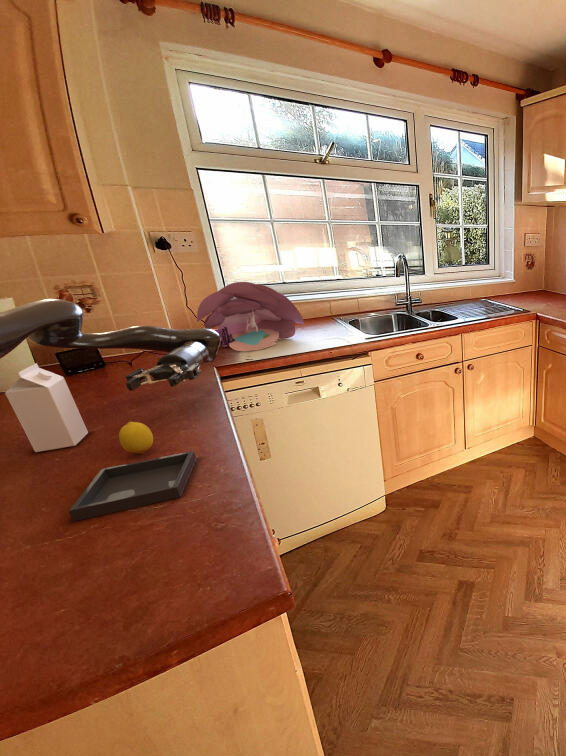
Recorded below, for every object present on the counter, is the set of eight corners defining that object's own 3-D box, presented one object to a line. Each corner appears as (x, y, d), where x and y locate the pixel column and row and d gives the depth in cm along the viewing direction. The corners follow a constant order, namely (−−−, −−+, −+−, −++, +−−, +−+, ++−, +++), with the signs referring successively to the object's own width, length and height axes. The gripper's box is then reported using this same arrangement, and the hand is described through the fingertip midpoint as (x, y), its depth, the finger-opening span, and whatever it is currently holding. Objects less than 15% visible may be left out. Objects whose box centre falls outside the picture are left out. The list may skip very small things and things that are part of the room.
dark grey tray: (73, 521, 74) (68, 510, 73) (105, 478, 86) (101, 468, 86) (180, 497, 80) (176, 487, 79) (196, 459, 92) (193, 450, 92)
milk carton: (35, 453, 96) (-5, 375, 89) (51, 439, 102) (15, 365, 95) (75, 446, 99) (40, 370, 92) (88, 433, 105) (56, 360, 98)
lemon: (124, 462, 92) (110, 430, 89) (129, 451, 96) (116, 420, 93) (156, 455, 95) (144, 423, 92) (159, 444, 99) (148, 414, 96)
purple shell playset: (218, 369, 162) (190, 301, 146) (205, 345, 176) (177, 280, 161) (311, 342, 182) (294, 279, 166) (292, 323, 196) (275, 263, 180)
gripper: (145, 352, 112) (108, 373, 97) (206, 347, 115) (179, 367, 100) (155, 378, 115) (121, 402, 100) (214, 373, 118) (189, 395, 103)
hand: (150, 384), depth 100 cm, fingers open, 8 cm apart
